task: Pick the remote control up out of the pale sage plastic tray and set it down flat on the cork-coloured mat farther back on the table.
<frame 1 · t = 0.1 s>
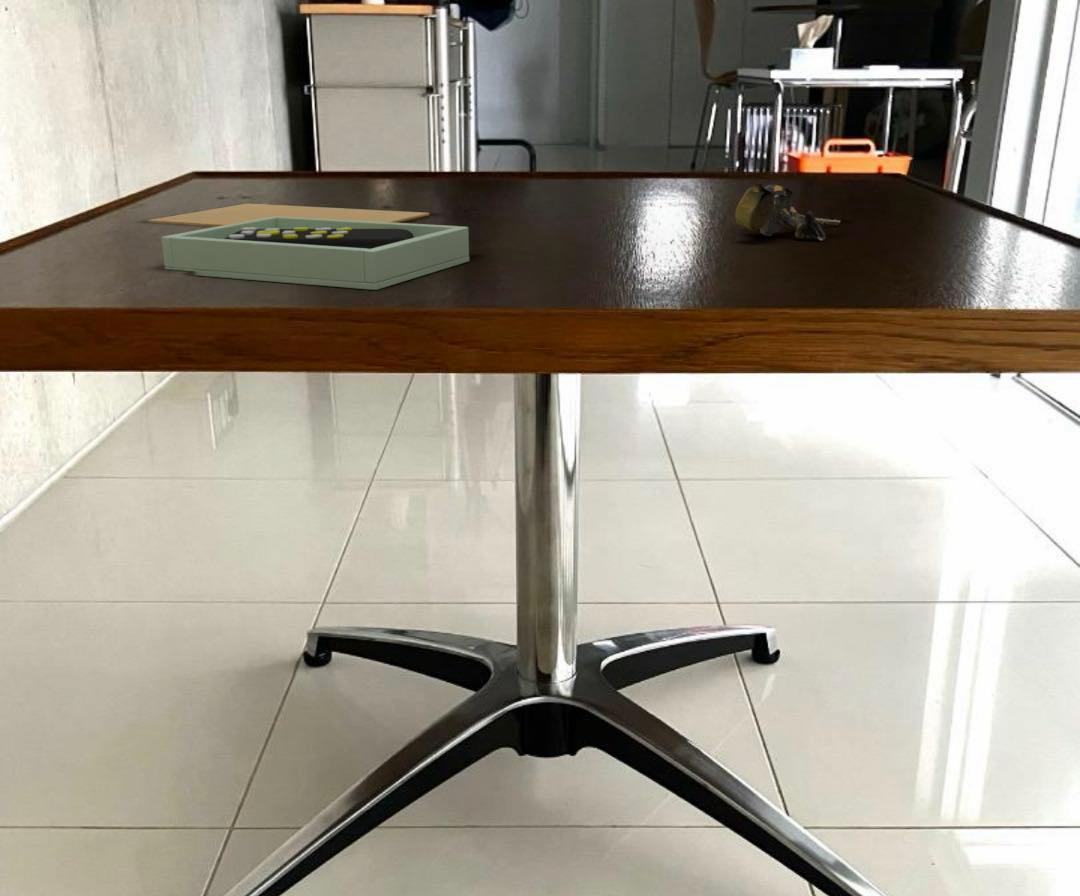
remote control: (320, 264, 84), resting on tray
mat: (291, 222, 108), on the table
regulator: (786, 236, 99), on the table
tray: (321, 267, 84), on the table
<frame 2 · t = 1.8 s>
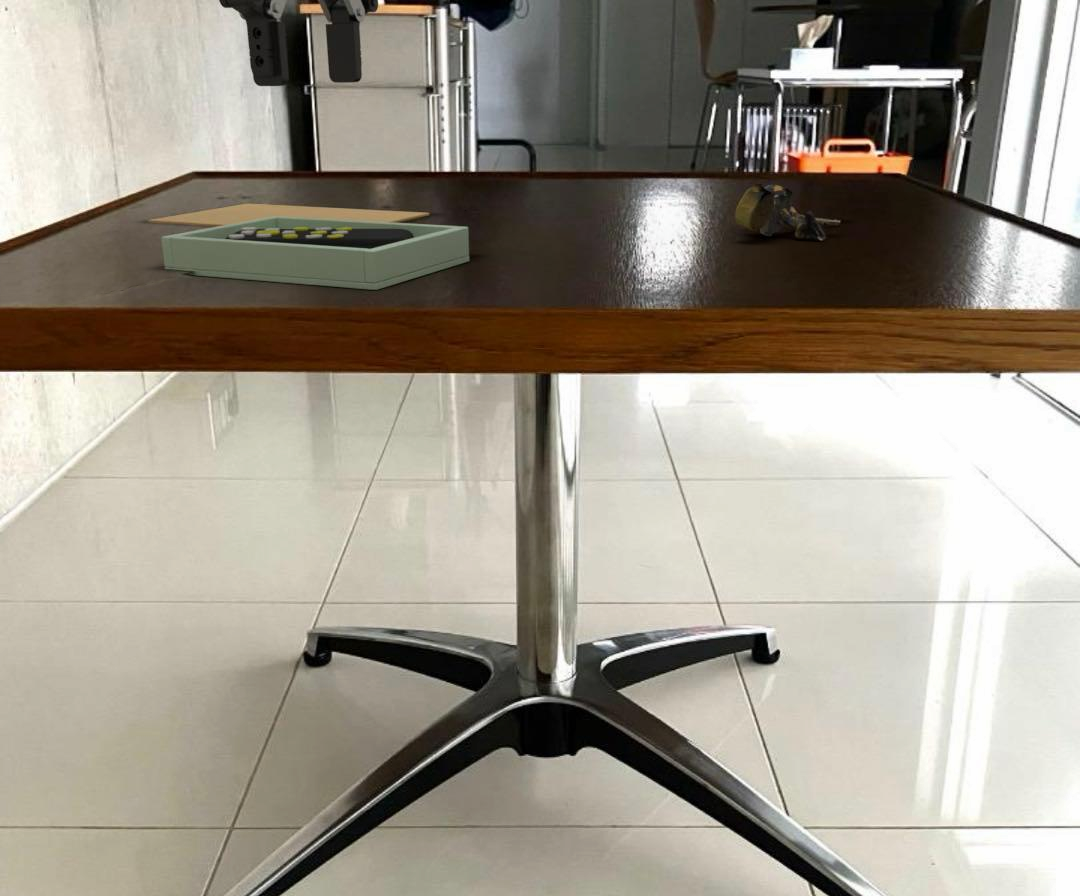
hand: (310, 84, 80), 12 cm above the table, tool pointing down, fingers open, 8 cm apart
nothing on the table moved.
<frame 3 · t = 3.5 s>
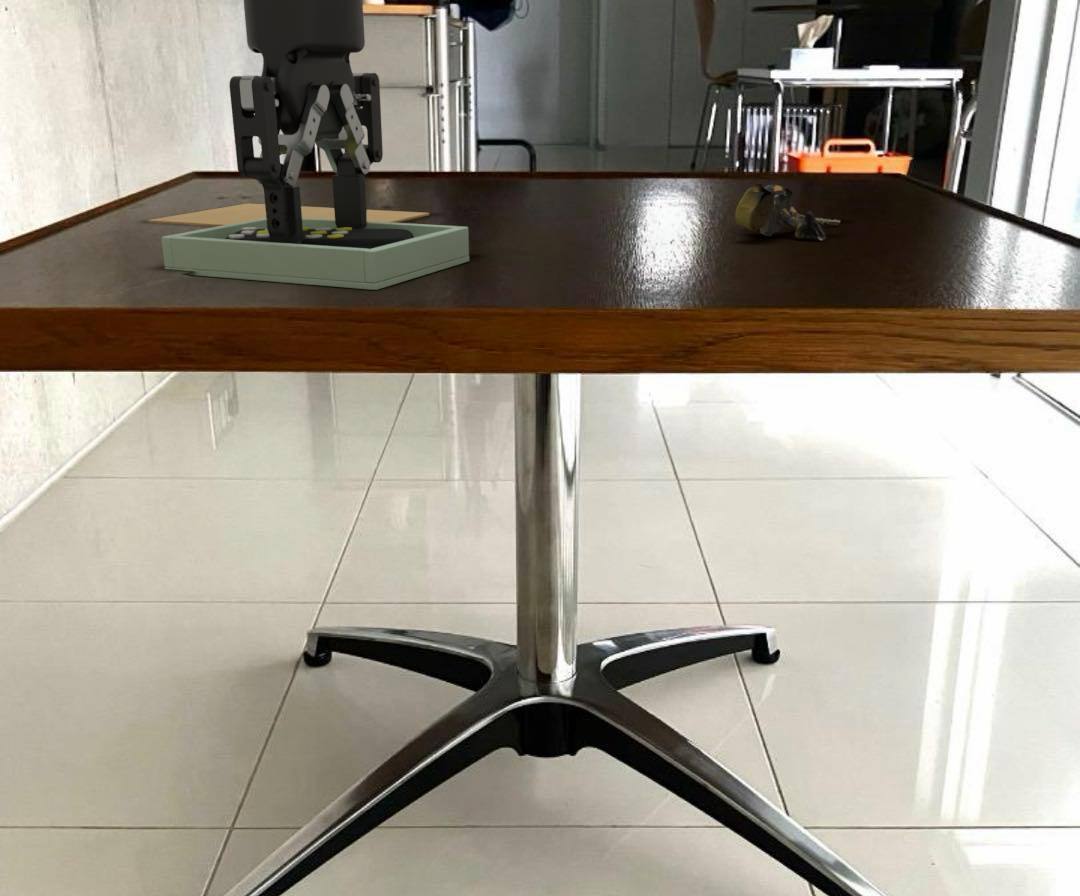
hand: (320, 236, 84), 2 cm above the table, tool pointing down, fingers closed on remote control, 7 cm apart
remote control: (320, 263, 84), resting on tray, touching gripper
everything else where it was.
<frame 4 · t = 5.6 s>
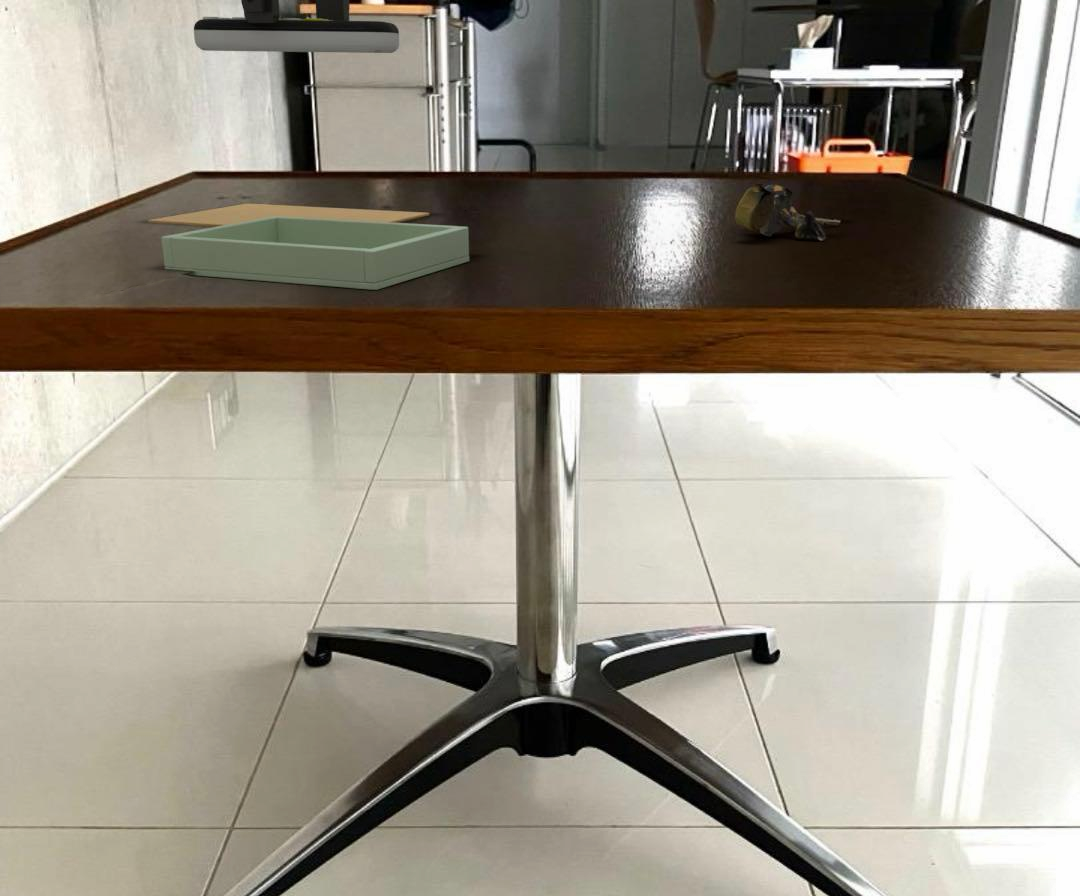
hand: (299, 24, 79), 16 cm above the table, tool pointing down, fingers closed on remote control, 7 cm apart
remote control: (299, 55, 80), point 14 cm above the table, touching gripper
everything else where it was.
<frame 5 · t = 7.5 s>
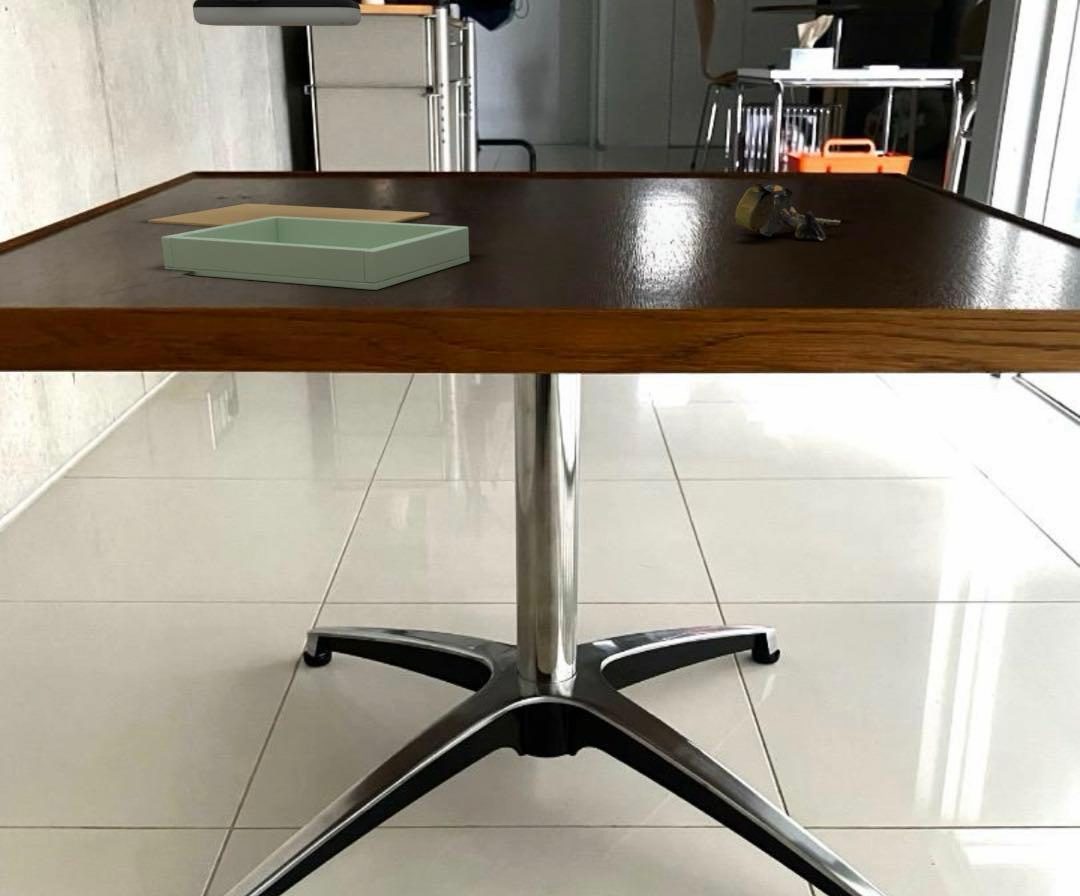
hand: (278, 2, 98), 18 cm above the table, tool pointing down, fingers closed on remote control, 7 cm apart
remote control: (279, 27, 98), point 16 cm above the table, touching gripper
everything else where it was.
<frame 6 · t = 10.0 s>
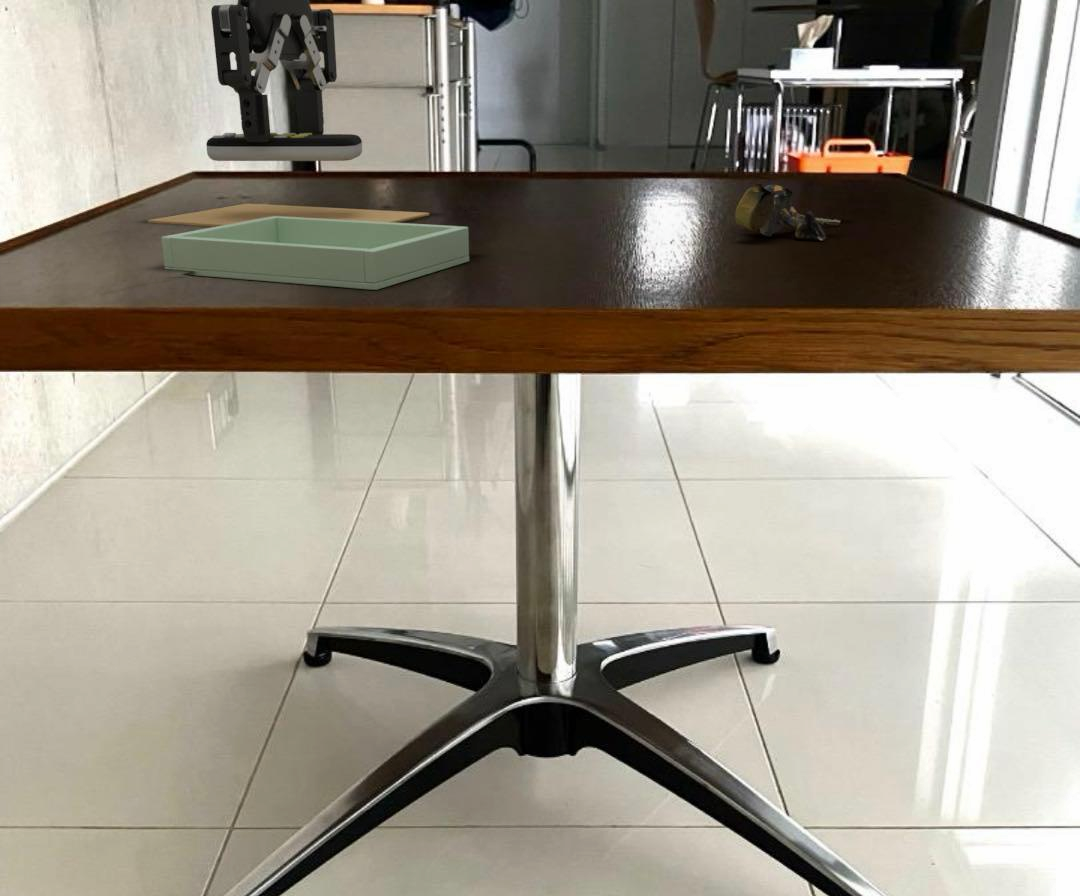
hand: (285, 138, 105), 7 cm above the table, tool pointing down, fingers closed on remote control, 7 cm apart
remote control: (286, 161, 106), point 5 cm above the table, touching gripper
everything else where it was.
when the fingers open (2 cm above the table, at t = 11.8 s): remote control stays where it is, resting on mat.
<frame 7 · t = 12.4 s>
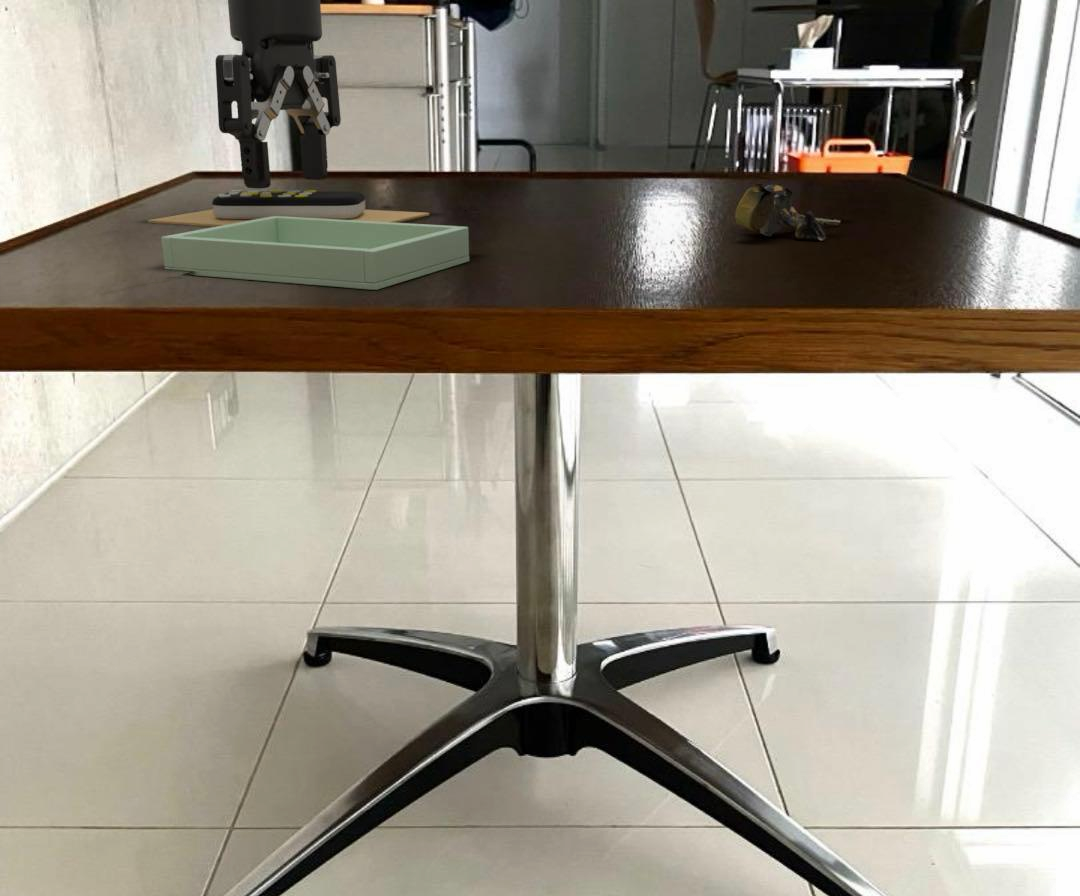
hand: (287, 183, 106), 3 cm above the table, tool pointing down, fingers open, 8 cm apart
remote control: (291, 218, 108), resting on mat
everything else where it was.
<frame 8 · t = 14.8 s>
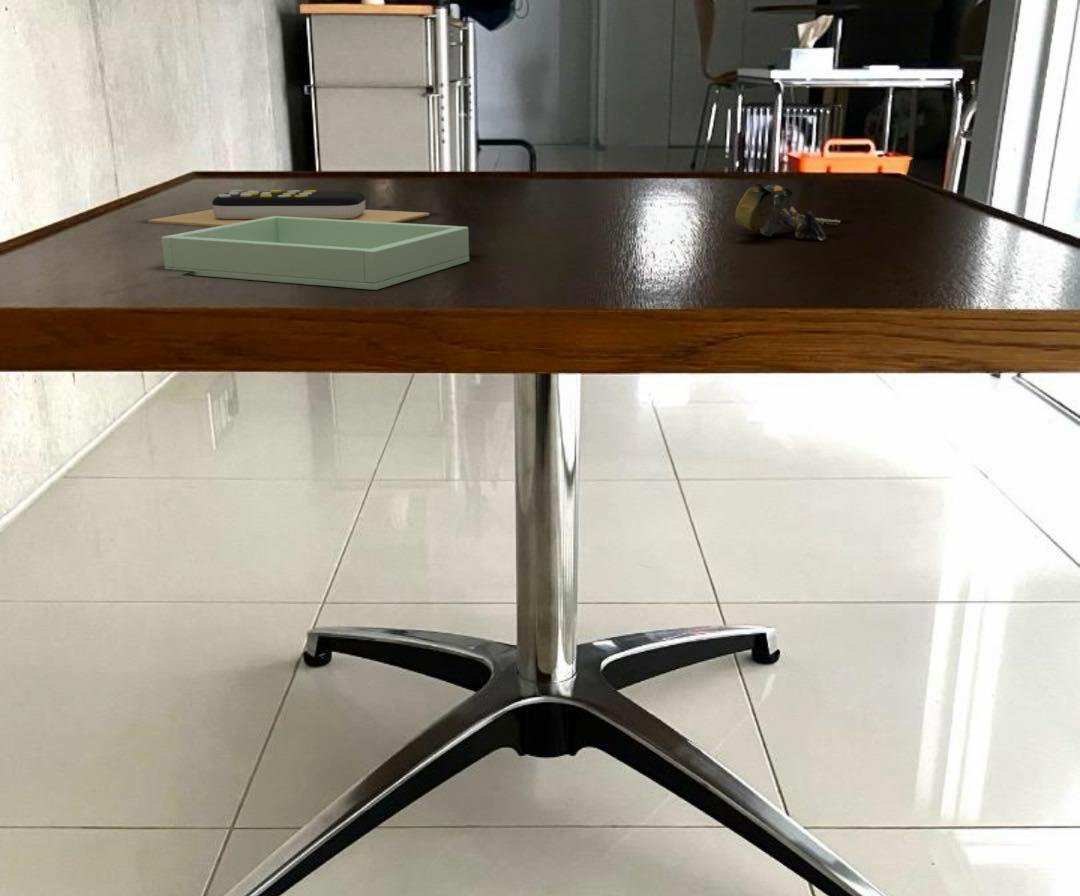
nothing on the table moved.
at the end: remote control inside the target area on the mat (0.0 cm from its centre), point 0.3 cm above the mat's base; remote control touching mat; the gripper is holding nothing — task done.
